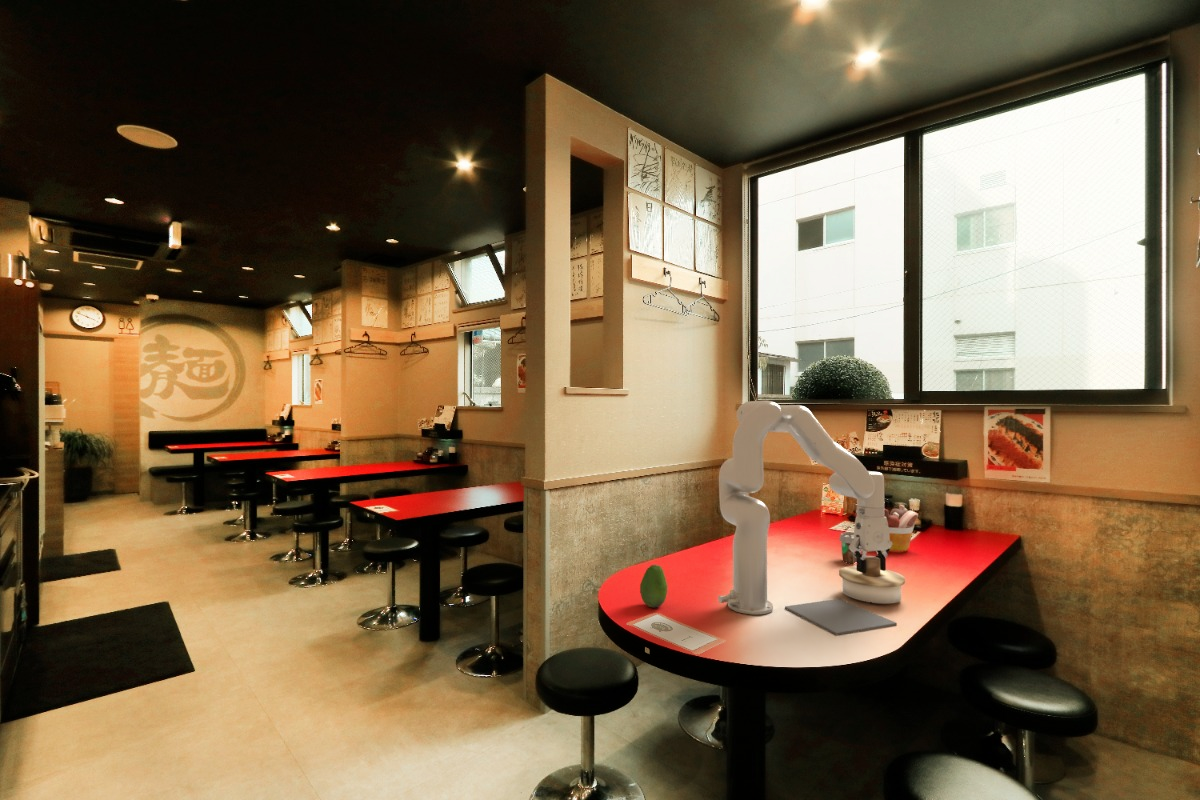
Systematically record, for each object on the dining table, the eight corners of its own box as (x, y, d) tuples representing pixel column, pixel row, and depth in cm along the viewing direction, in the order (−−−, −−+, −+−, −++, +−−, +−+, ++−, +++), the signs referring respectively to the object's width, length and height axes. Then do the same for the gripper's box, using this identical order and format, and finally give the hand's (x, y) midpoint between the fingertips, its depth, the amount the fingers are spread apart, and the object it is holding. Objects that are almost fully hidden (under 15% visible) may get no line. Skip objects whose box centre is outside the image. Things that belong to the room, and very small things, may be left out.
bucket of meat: (886, 542, 237) (886, 496, 238) (925, 550, 223) (924, 501, 224) (857, 548, 227) (857, 500, 228) (896, 557, 213) (895, 505, 214)
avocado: (672, 606, 158) (672, 564, 159) (655, 613, 153) (655, 570, 153) (651, 599, 164) (651, 559, 164) (634, 606, 158) (634, 564, 159)
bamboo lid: (872, 590, 155) (871, 568, 155) (826, 572, 172) (825, 553, 172) (919, 583, 161) (919, 563, 161) (870, 567, 178) (870, 548, 178)
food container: (844, 556, 214) (844, 530, 215) (861, 558, 211) (861, 532, 211) (835, 562, 205) (834, 536, 205) (852, 565, 201) (852, 538, 201)
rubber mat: (836, 635, 138) (836, 632, 138) (784, 608, 157) (784, 606, 157) (896, 625, 145) (896, 622, 145) (840, 600, 164) (840, 598, 164)
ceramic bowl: (872, 609, 156) (871, 588, 156) (831, 592, 171) (830, 572, 171) (914, 603, 162) (913, 582, 162) (870, 586, 177) (870, 568, 177)
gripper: (857, 516, 161) (858, 577, 160) (902, 512, 166) (903, 571, 166) (838, 511, 168) (839, 570, 167) (882, 508, 173) (882, 564, 173)
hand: (871, 570), depth 167 cm, fingers open, 6 cm apart
